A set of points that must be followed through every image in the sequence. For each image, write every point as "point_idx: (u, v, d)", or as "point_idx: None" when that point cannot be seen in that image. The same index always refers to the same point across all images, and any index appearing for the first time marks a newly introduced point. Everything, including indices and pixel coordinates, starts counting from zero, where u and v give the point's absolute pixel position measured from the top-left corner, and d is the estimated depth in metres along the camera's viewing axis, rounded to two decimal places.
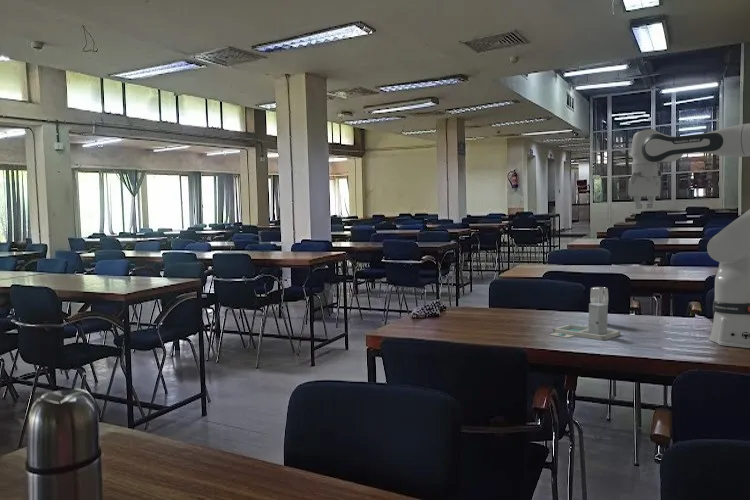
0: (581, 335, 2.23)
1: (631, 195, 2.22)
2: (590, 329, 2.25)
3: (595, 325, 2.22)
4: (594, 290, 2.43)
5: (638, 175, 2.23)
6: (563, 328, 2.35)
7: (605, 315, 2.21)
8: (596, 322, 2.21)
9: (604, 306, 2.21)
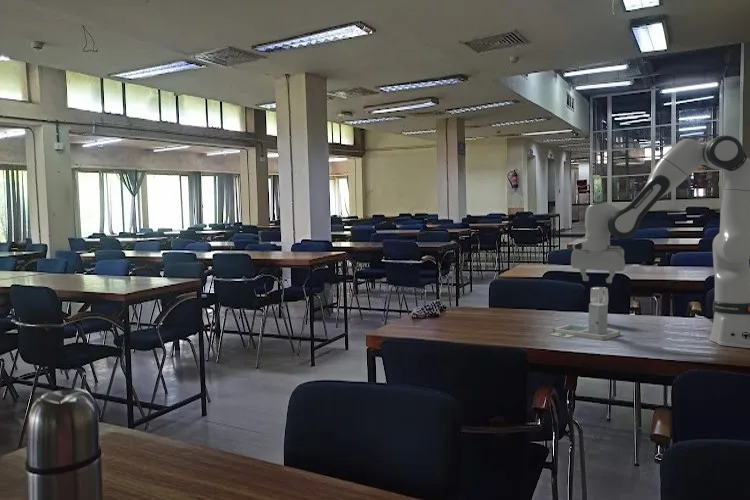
0: (581, 335, 2.23)
1: (621, 270, 2.15)
2: (590, 329, 2.25)
3: (595, 325, 2.22)
4: (594, 290, 2.43)
5: None
6: (563, 328, 2.35)
7: (605, 315, 2.21)
8: (596, 322, 2.21)
9: (604, 306, 2.21)
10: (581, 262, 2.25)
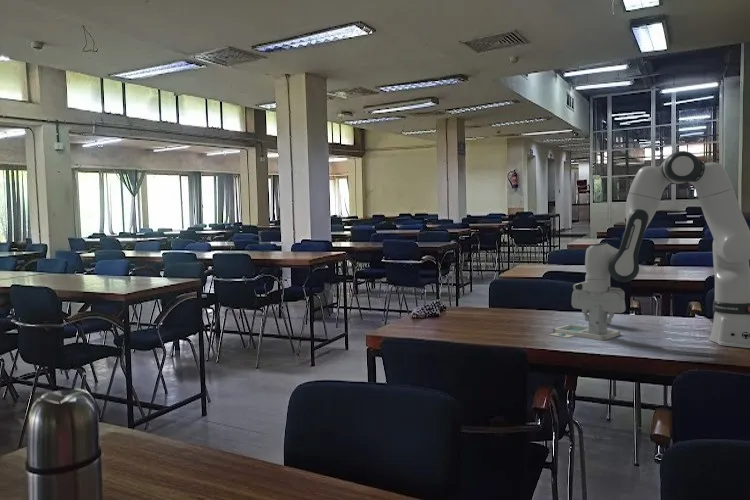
0: (581, 335, 2.23)
1: (622, 311, 2.16)
2: (590, 329, 2.25)
3: (595, 325, 2.22)
4: None
5: None
6: (563, 328, 2.35)
7: (605, 315, 2.21)
8: (596, 322, 2.21)
9: None
10: (582, 303, 2.26)
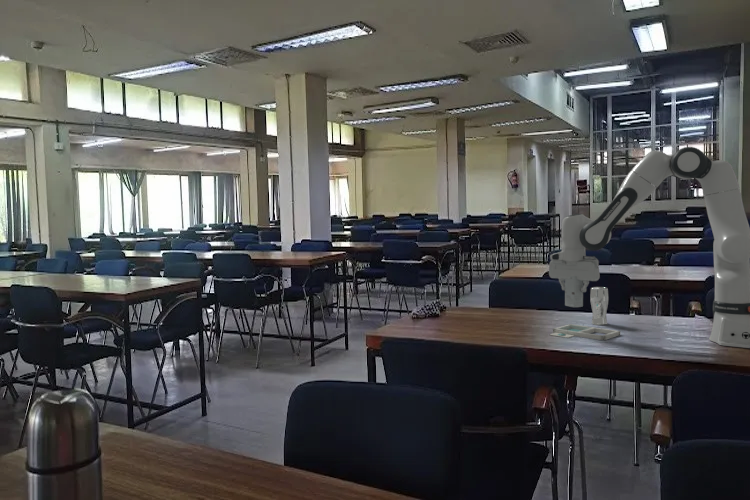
0: (581, 335, 2.23)
1: (596, 279, 2.23)
2: (566, 300, 2.32)
3: (571, 296, 2.29)
4: (594, 290, 2.43)
5: None
6: (563, 328, 2.35)
7: (581, 286, 2.28)
8: (572, 293, 2.28)
9: None
10: (559, 272, 2.33)
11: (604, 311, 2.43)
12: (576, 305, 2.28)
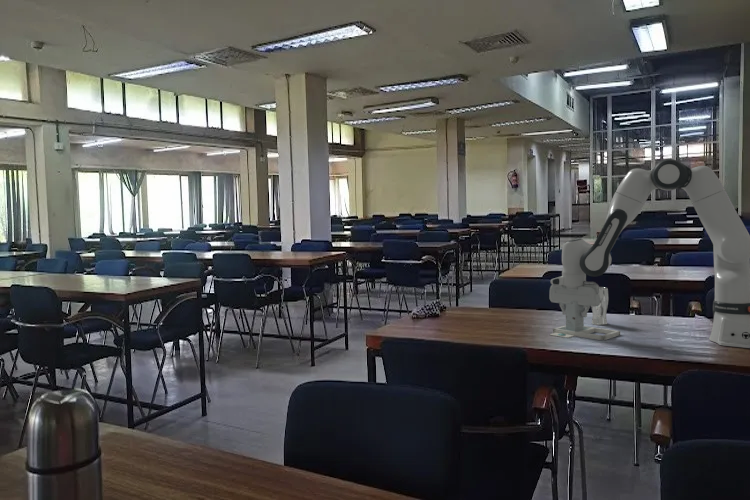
0: (581, 335, 2.23)
1: (597, 305, 2.23)
2: (567, 325, 2.32)
3: (571, 321, 2.30)
4: None
5: None
6: (563, 328, 2.35)
7: (581, 311, 2.29)
8: (573, 318, 2.29)
9: None
10: (559, 297, 2.34)
11: (604, 311, 2.43)
12: (577, 330, 2.29)
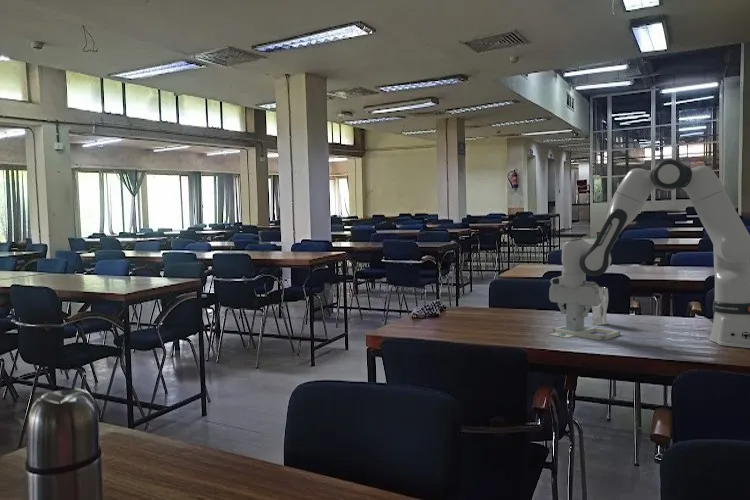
0: (581, 335, 2.23)
1: (596, 305, 2.23)
2: (568, 325, 2.32)
3: (572, 321, 2.30)
4: None
5: None
6: (563, 328, 2.35)
7: None
8: (574, 319, 2.29)
9: None
10: (559, 296, 2.34)
11: (604, 311, 2.43)
12: (577, 331, 2.29)
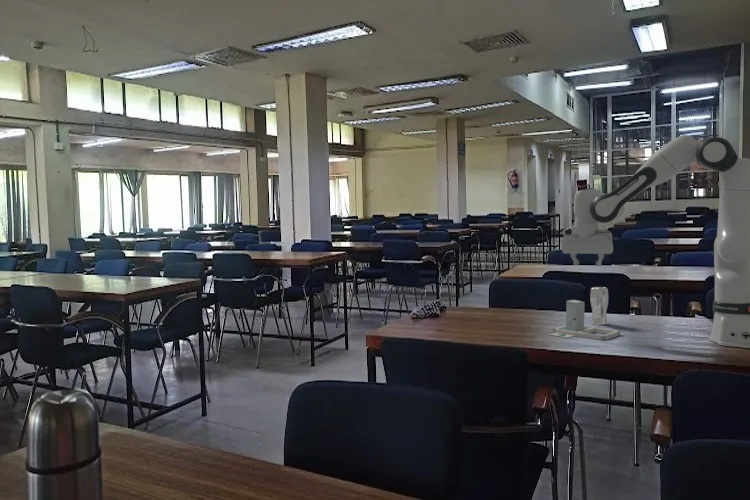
0: (581, 335, 2.23)
1: (610, 252, 2.24)
2: (568, 325, 2.32)
3: (572, 321, 2.30)
4: (594, 290, 2.43)
5: None
6: (563, 328, 2.35)
7: (582, 312, 2.29)
8: (574, 319, 2.29)
9: (581, 303, 2.28)
10: (572, 247, 2.35)
11: (604, 311, 2.43)
12: (577, 331, 2.29)
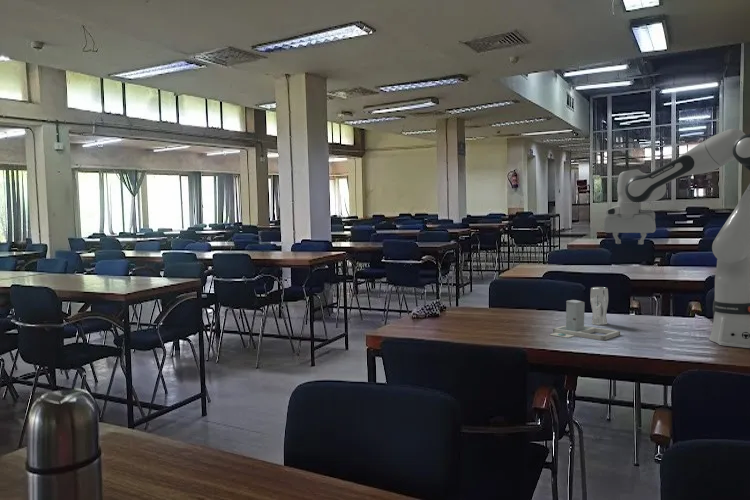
0: (581, 335, 2.23)
1: (652, 231, 2.32)
2: (568, 325, 2.32)
3: (572, 321, 2.30)
4: (594, 290, 2.43)
5: None
6: (563, 328, 2.35)
7: (582, 312, 2.29)
8: (574, 319, 2.29)
9: (581, 303, 2.28)
10: (614, 226, 2.43)
11: (604, 311, 2.43)
12: (577, 331, 2.29)
